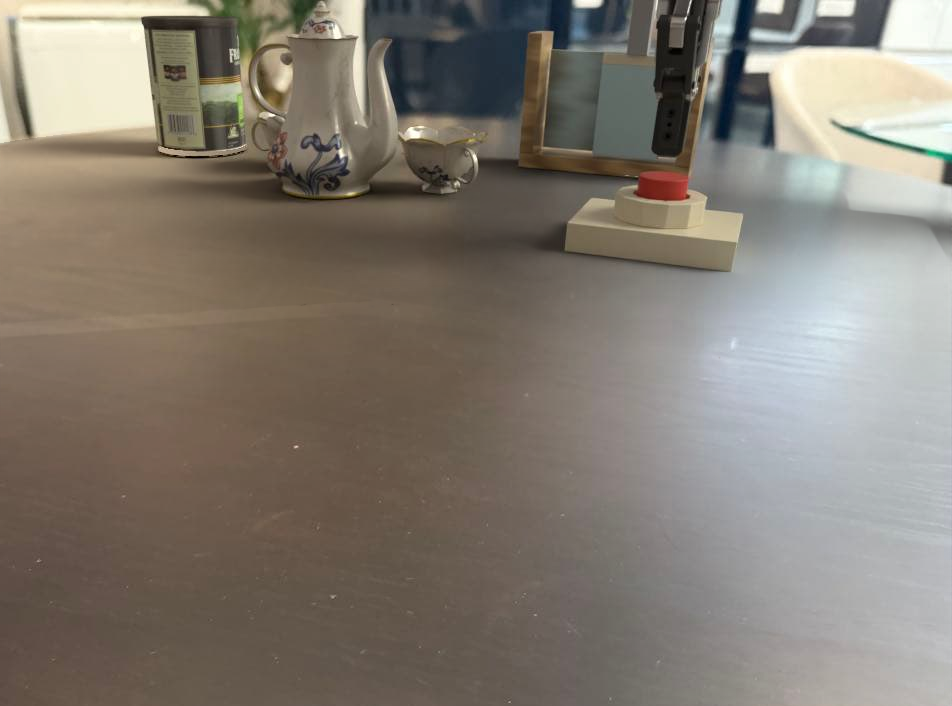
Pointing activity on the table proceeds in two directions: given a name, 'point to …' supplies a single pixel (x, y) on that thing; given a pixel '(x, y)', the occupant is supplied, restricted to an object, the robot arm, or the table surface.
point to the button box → (656, 230)
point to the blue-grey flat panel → (629, 93)
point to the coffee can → (195, 82)
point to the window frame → (583, 115)
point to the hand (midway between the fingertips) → (667, 153)
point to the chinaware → (348, 122)
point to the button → (662, 186)
